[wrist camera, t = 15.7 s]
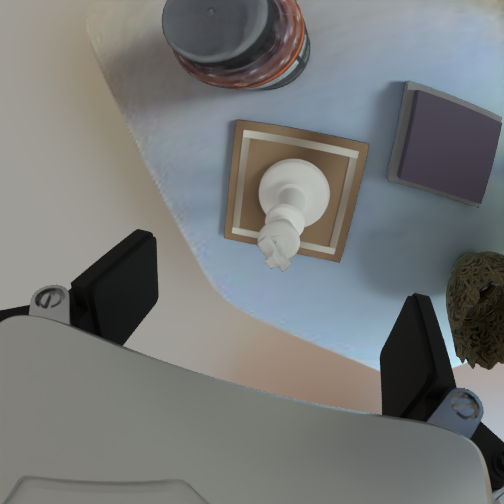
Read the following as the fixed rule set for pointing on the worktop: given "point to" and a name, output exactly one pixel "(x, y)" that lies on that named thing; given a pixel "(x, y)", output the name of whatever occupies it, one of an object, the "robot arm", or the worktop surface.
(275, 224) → the chess piece
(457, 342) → the cup
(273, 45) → the supplement bottle
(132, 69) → the worktop surface
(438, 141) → the ink pad
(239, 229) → the stamp board
